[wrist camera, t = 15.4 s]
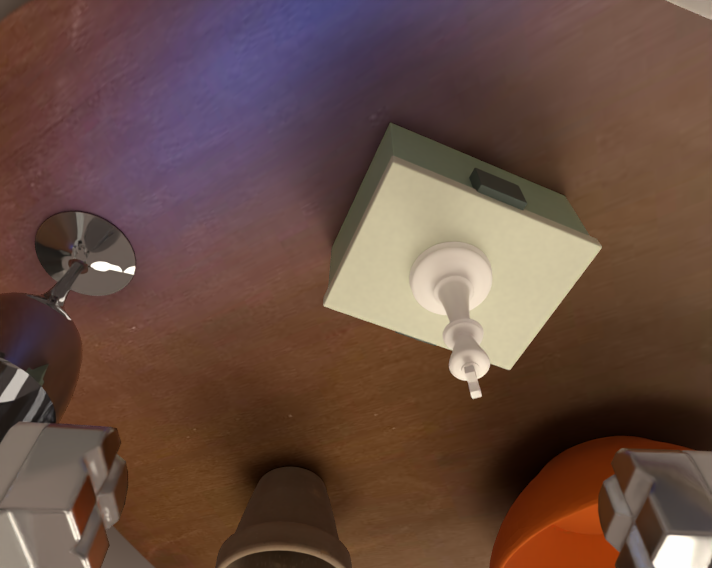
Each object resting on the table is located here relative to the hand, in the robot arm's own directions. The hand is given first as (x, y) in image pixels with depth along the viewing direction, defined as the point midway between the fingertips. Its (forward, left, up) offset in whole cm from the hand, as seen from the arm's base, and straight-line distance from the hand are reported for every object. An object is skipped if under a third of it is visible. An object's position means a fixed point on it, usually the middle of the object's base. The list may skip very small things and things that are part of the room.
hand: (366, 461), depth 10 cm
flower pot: (+10, -40, -31) cm, 52 cm away
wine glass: (-13, -22, -31) cm, 40 cm away
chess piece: (+9, -9, -24) cm, 28 cm away
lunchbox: (+10, -9, -31) cm, 34 cm away
